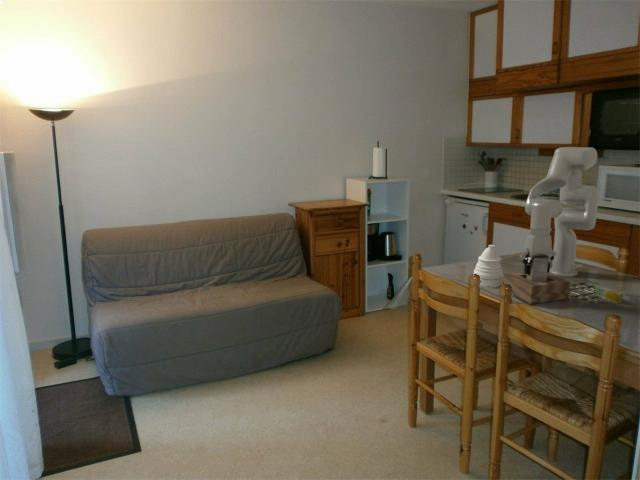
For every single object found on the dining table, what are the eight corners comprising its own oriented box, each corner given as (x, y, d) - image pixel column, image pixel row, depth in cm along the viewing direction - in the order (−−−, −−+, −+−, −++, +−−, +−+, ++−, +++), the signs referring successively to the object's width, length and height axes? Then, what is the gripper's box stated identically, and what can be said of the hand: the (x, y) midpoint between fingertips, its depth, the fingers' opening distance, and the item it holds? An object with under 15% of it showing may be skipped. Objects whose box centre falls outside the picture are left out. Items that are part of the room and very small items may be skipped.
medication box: (593, 294, 216) (594, 285, 215) (598, 294, 217) (599, 284, 216) (617, 304, 205) (618, 294, 204) (622, 303, 206) (623, 293, 205)
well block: (538, 287, 226) (540, 270, 224) (568, 300, 209) (570, 281, 207) (503, 291, 221) (504, 273, 220) (530, 305, 204) (532, 286, 203)
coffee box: (525, 287, 220) (527, 250, 216) (540, 287, 219) (543, 251, 215) (529, 294, 211) (532, 256, 207) (546, 295, 210) (549, 256, 206)
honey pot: (507, 286, 228) (510, 247, 224) (479, 288, 227) (481, 248, 223) (495, 278, 241) (498, 240, 237) (468, 279, 240) (470, 241, 236)
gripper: (551, 228, 215) (548, 268, 219) (515, 231, 211) (512, 272, 214) (564, 232, 208) (560, 273, 212) (527, 235, 204) (524, 277, 207)
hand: (536, 272), depth 213 cm, fingers closed on coffee box, 8 cm apart
